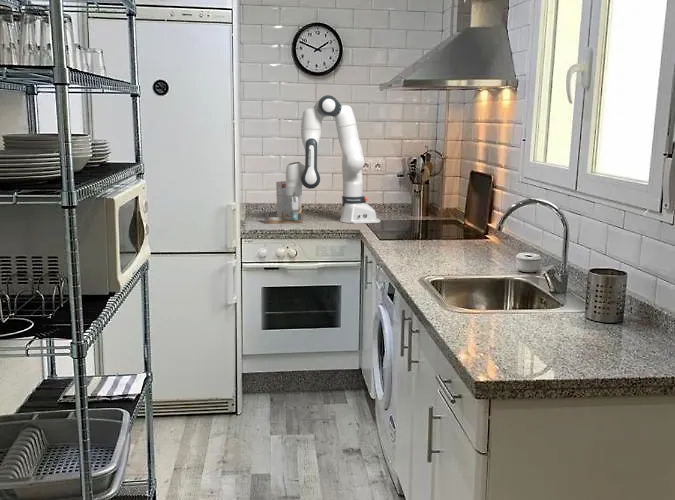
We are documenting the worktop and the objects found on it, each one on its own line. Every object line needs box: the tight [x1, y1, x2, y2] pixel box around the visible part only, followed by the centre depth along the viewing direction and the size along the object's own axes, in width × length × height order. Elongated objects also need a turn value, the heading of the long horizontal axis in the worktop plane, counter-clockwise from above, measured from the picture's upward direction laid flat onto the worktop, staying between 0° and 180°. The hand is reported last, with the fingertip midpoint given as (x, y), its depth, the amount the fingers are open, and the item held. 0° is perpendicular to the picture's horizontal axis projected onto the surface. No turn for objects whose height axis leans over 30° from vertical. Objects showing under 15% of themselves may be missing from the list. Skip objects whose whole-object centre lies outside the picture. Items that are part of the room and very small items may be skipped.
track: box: [264, 211, 303, 225], centre depth 386 cm, size 20×10×6 cm, turn 97°
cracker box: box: [275, 180, 303, 217], centre depth 403 cm, size 14×6×21 cm, turn 130°
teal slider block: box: [290, 211, 298, 220], centre depth 386 cm, size 4×5×4 cm
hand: (294, 217), depth 386 cm, fingers closed on teal slider block, 5 cm apart
